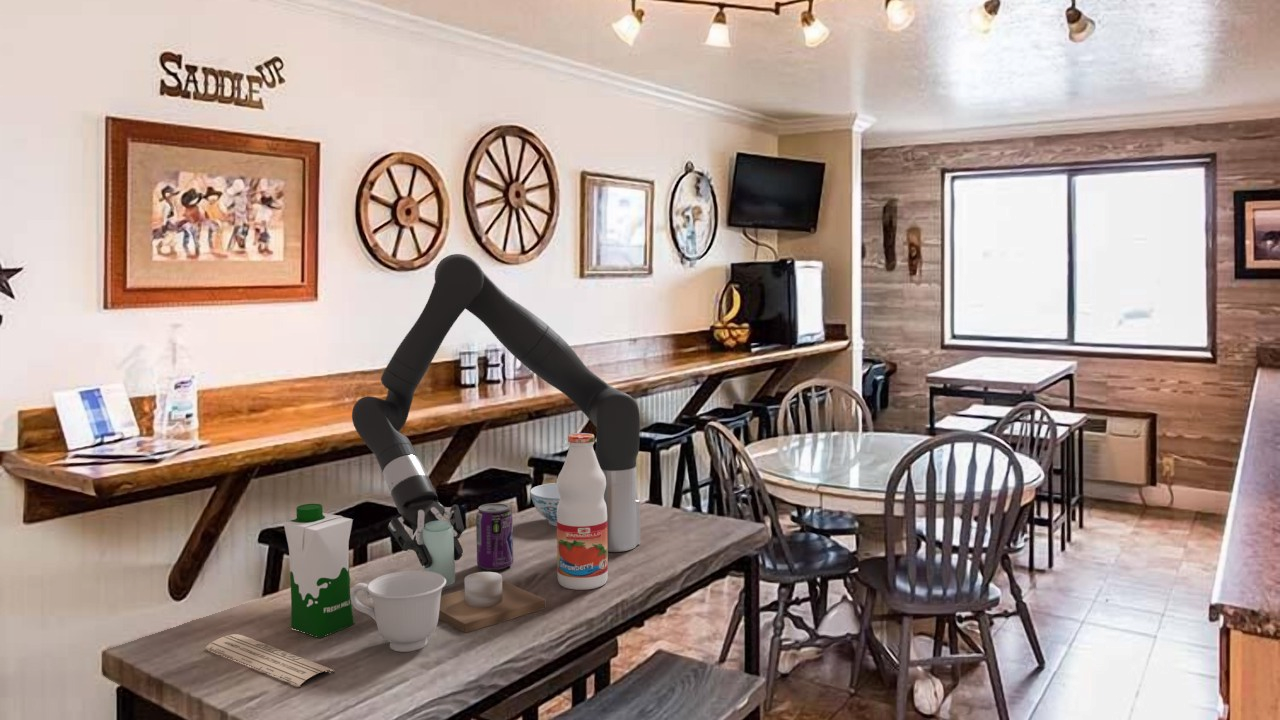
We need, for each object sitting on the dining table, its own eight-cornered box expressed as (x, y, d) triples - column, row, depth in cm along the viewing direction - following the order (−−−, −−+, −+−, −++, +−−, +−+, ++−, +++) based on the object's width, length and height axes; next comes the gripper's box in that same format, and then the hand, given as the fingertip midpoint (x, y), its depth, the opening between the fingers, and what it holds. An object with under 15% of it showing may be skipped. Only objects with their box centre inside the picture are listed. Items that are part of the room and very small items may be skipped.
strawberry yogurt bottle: (607, 573, 177) (606, 430, 174) (607, 590, 167) (606, 439, 165) (558, 574, 176) (557, 430, 174) (556, 591, 167) (554, 440, 164)
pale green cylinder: (445, 574, 170) (443, 518, 169) (460, 582, 166) (458, 523, 165) (419, 581, 166) (416, 523, 165) (434, 589, 162) (431, 530, 161)
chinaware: (517, 523, 212) (516, 491, 211) (563, 510, 223) (563, 479, 222) (563, 535, 202) (562, 501, 201) (609, 521, 213) (608, 488, 212)
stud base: (500, 587, 169) (500, 558, 169) (545, 608, 159) (544, 577, 158) (422, 609, 158) (421, 578, 158) (465, 632, 148) (464, 600, 148)
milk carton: (326, 613, 157) (321, 498, 155) (362, 623, 152) (358, 506, 150) (282, 630, 149) (277, 510, 147) (319, 642, 145) (314, 518, 143)
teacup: (365, 629, 150) (363, 569, 149) (455, 629, 149) (454, 570, 148) (338, 660, 138) (336, 596, 137) (437, 661, 137) (435, 596, 136)
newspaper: (205, 654, 142) (204, 643, 142) (247, 638, 148) (246, 628, 148) (299, 693, 129) (299, 681, 129) (341, 674, 135) (340, 662, 135)
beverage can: (506, 573, 177) (505, 512, 176) (471, 571, 179) (470, 510, 177) (518, 561, 184) (517, 503, 183) (484, 559, 185) (483, 501, 184)
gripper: (379, 480, 165) (414, 560, 157) (450, 467, 174) (486, 542, 167) (367, 503, 169) (401, 582, 162) (437, 489, 179) (471, 563, 171)
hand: (444, 561), depth 164 cm, fingers closed on pale green cylinder, 5 cm apart
